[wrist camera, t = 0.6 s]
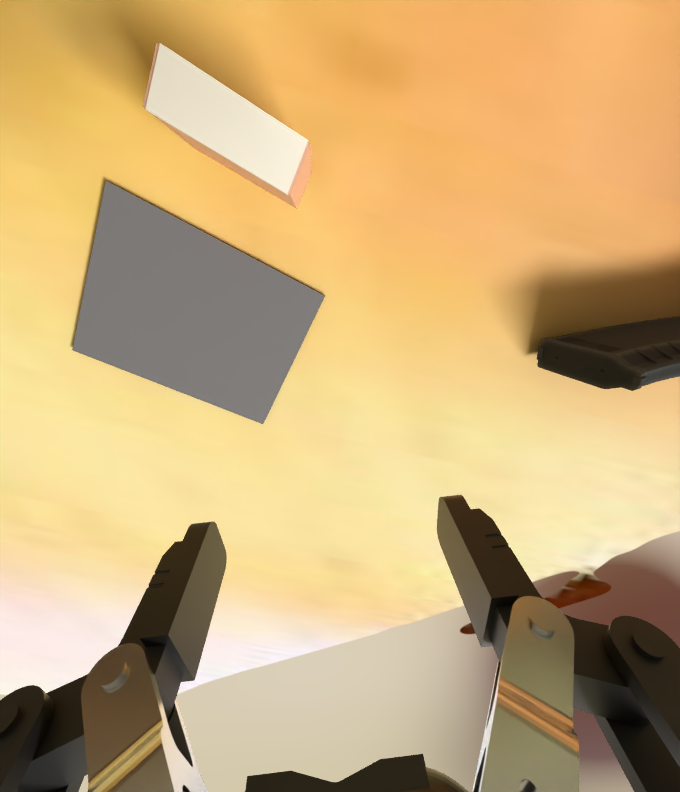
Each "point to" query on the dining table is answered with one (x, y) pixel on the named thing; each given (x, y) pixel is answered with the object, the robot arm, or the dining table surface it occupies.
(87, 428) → the dining table surface
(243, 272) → the mat
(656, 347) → the magazine
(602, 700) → the robot arm
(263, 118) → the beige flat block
